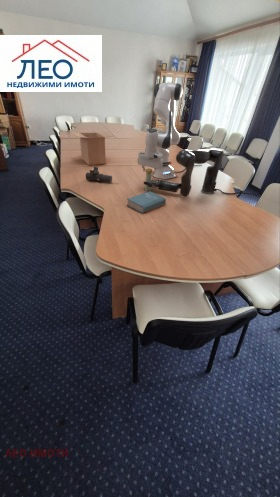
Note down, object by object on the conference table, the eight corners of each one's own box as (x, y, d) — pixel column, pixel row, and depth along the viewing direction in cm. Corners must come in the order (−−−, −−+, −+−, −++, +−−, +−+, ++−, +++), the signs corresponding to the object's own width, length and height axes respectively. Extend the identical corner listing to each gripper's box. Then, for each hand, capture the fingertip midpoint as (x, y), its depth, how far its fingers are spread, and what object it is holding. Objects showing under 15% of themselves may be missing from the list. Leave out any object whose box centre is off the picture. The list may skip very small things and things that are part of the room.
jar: (145, 188, 183) (147, 169, 173) (150, 189, 182) (152, 170, 173) (144, 190, 180) (145, 170, 170) (149, 191, 179) (151, 171, 169)
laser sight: (109, 184, 185) (109, 172, 179) (84, 181, 187) (82, 169, 182) (112, 180, 192) (112, 169, 186) (88, 177, 195) (87, 166, 189)
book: (149, 197, 168) (149, 191, 165) (165, 204, 160) (166, 198, 157) (127, 205, 155) (127, 198, 152) (143, 213, 146) (143, 207, 143)
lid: (144, 172, 172) (144, 169, 170) (147, 171, 175) (148, 168, 174) (150, 173, 170) (150, 171, 168) (153, 172, 173) (153, 169, 172)
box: (116, 165, 229) (116, 136, 213) (83, 168, 214) (80, 137, 198) (102, 154, 259) (101, 128, 243) (71, 156, 244) (68, 129, 228)
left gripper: (136, 152, 166) (135, 170, 174) (160, 157, 158) (158, 176, 166) (140, 150, 170) (139, 168, 178) (164, 155, 163) (162, 174, 171)
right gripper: (168, 178, 177) (148, 174, 181) (163, 183, 166) (142, 179, 170) (167, 187, 181) (147, 183, 185) (162, 193, 170) (141, 189, 175)
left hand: (149, 172), depth 172 cm, fingers open, 7 cm apart
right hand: (144, 181), depth 178 cm, fingers closed on jar, 4 cm apart
